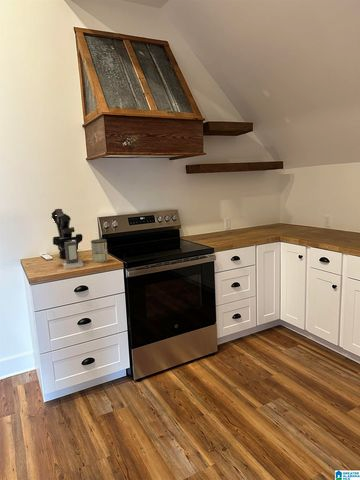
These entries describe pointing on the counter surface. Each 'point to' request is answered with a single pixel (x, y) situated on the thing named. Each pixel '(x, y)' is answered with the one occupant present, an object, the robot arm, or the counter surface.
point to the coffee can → (99, 250)
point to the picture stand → (73, 265)
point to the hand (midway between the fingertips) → (70, 249)
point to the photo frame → (71, 252)
